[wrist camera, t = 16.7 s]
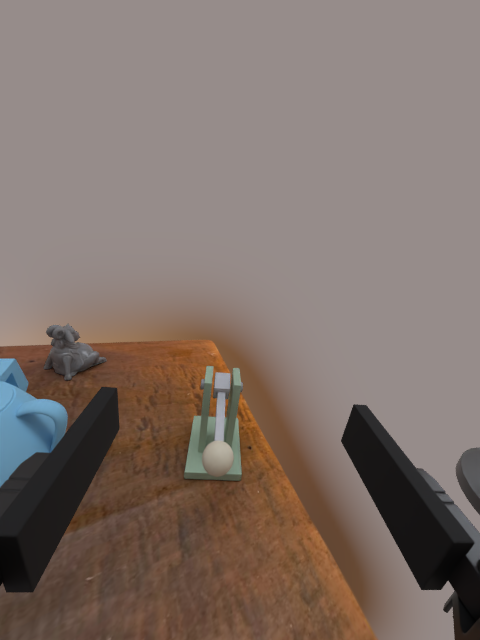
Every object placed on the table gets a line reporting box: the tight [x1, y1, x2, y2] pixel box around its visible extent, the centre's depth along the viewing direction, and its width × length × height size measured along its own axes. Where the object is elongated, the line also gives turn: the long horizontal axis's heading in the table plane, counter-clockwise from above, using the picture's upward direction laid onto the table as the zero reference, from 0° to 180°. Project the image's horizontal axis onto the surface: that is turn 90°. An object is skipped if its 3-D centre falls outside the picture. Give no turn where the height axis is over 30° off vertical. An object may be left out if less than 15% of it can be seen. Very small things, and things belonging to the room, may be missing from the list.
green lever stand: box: [184, 366, 243, 481], centre depth 38 cm, size 11×8×14 cm
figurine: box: [44, 324, 107, 380], centre depth 55 cm, size 8×10×11 cm
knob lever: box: [202, 372, 234, 477], centre depth 32 cm, size 13×4×4 cm, turn 3°
